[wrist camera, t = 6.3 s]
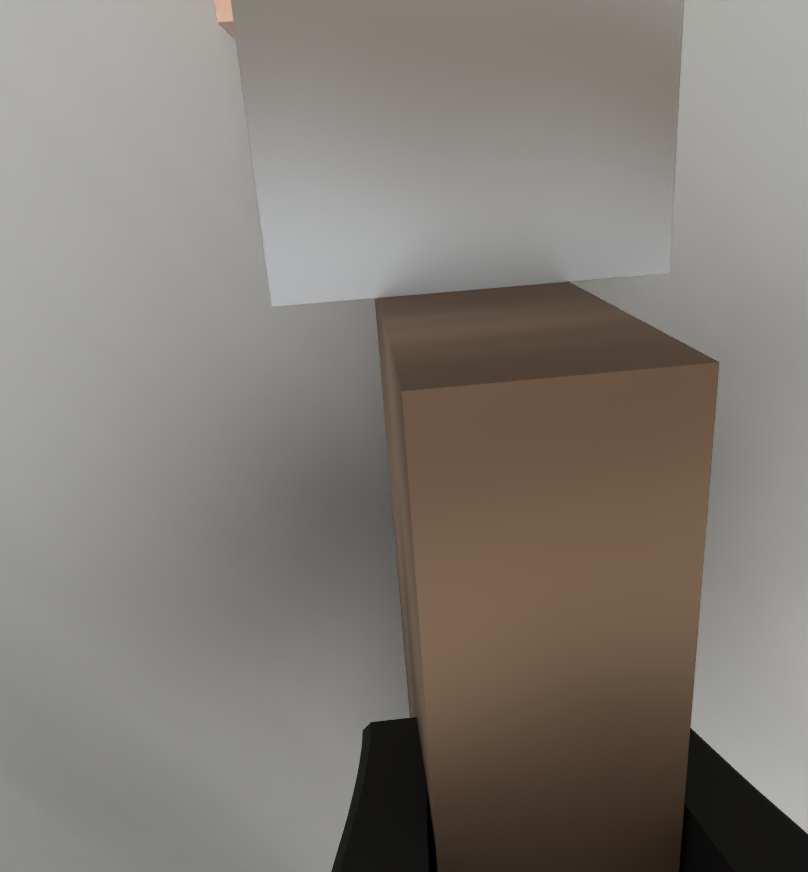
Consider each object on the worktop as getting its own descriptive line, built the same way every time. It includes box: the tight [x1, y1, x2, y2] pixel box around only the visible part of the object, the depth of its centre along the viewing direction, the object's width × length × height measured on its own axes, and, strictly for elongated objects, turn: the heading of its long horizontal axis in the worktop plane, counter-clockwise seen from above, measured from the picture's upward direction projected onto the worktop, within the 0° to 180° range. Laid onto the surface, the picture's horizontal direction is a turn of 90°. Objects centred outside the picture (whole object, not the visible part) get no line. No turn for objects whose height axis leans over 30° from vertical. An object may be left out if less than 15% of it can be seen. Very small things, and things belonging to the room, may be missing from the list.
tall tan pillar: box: [231, 0, 719, 872], centre depth 9 cm, size 16×5×5 cm, turn 4°
